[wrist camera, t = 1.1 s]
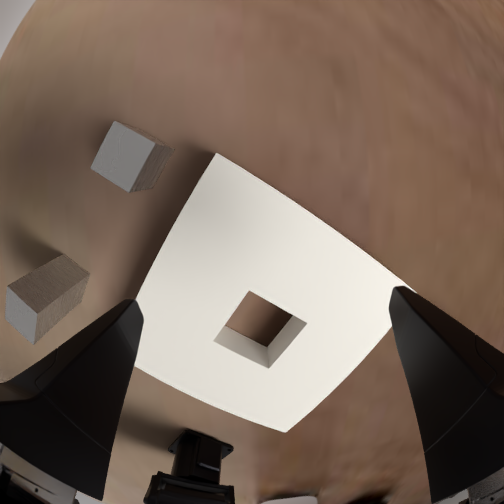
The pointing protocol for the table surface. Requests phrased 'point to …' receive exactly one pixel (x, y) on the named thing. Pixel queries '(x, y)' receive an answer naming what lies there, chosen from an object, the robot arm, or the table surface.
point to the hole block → (266, 286)
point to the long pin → (45, 297)
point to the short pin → (131, 158)
